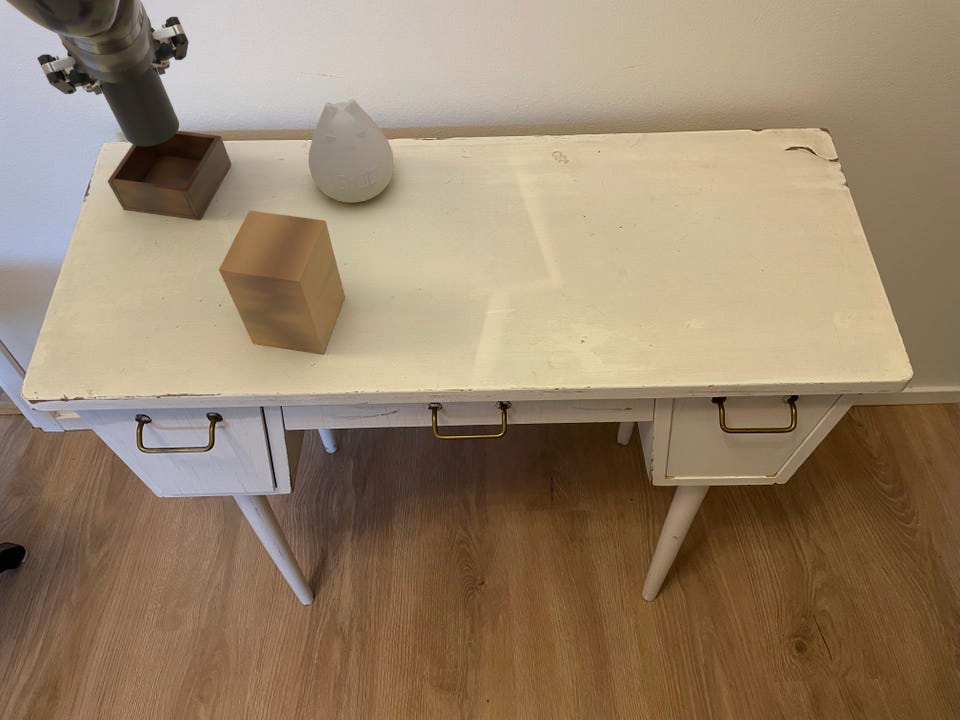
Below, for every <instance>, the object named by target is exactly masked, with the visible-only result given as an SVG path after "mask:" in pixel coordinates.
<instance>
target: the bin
mask: <svg viewBox="0 0 960 720" xmlns="http://www.w3.org/2000/svg"><path fill="white" fill-rule="evenodd" d="M231 167H232V162H231V159H230V156H229V154H228V151H227V148H226V146H225V143H224V141H223V138H222V135H217V134H209V133H202V132H201V133H200V132H193V131H184V130H178V131H177V132H176V134H175V135H174V136H173V137H172V138H170V139H169V140H167V141H165V142H163V143H161V144H158V145H154V146H137V145H134V144H131V146H130V148H129V149H128V150H127V152H126V153H125V155H124V156H123V158H122V159H121V161H120V162H119V164H118V165H117V166H116V168H115V170H114V171H113V173H112V174H111V175H110V177H109V178H108V180H107V183H108V185H109V187H110V189H111V190H112V192H113V194H114V196H115V198H116V199H117V201H118V203H119V205H120V206H121V208H122V210H123V211H132V212H137V213H138V212H140V213H144V214H145V213H147V214H153V215H161V216H168V217H176V218H182V219H183V218H184V219H190V220H197V221H201V220H202V218H203V216H204V215H205V213H206V211H207V210H208V208H209V206H210V204H211V202H212V200H213V199H214V197H215V195H216V193H217V191H218V189H219V188H220V186H221V185H222V183H223V180H224V179H225V177H226V175H227V174H228V172H229V170H230V168H231Z"/></svg>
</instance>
